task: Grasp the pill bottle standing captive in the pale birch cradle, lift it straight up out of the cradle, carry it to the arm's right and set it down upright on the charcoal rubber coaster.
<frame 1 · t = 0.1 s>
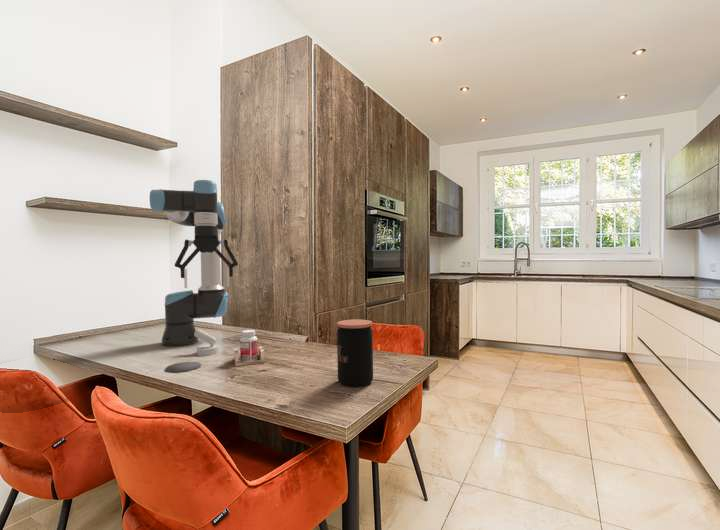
hand: (207, 287, 133), 28 cm above the table, fingers open, 13 cm apart
pill bottle: (249, 361, 141), resting in cradle
wall hook: (206, 353, 154), on the table
coffee jar: (355, 382, 115), on the table
coaster: (183, 367, 133), on the table
cradle: (249, 360, 141), on the table
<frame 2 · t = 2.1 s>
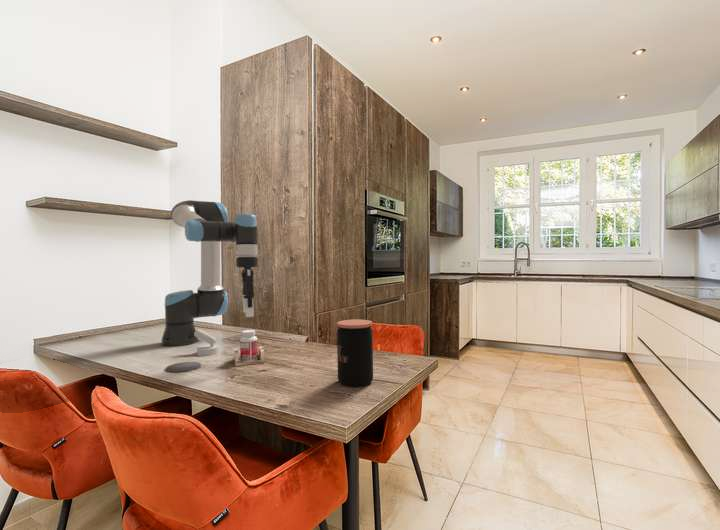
hand: (248, 314, 140), 17 cm above the table, fingers open, 13 cm apart
nothing on the table moved.
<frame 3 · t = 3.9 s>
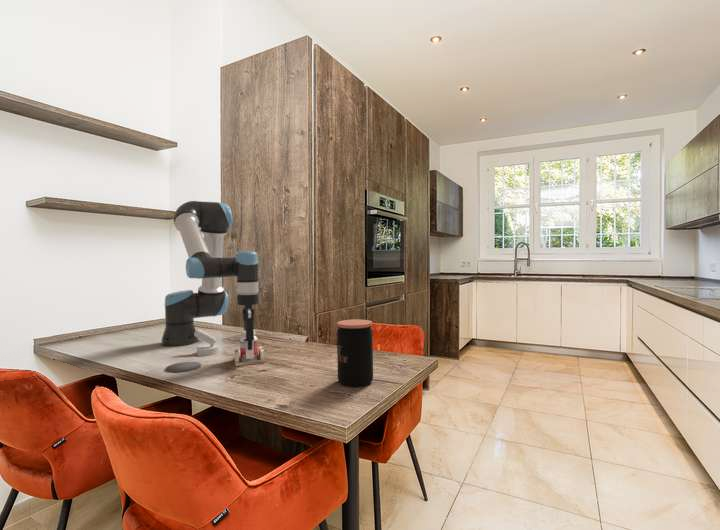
hand: (249, 356, 141), 2 cm above the table, fingers closed on pill bottle, 6 cm apart
pill bottle: (249, 361, 141), resting in cradle, touching gripper
everything else where it was.
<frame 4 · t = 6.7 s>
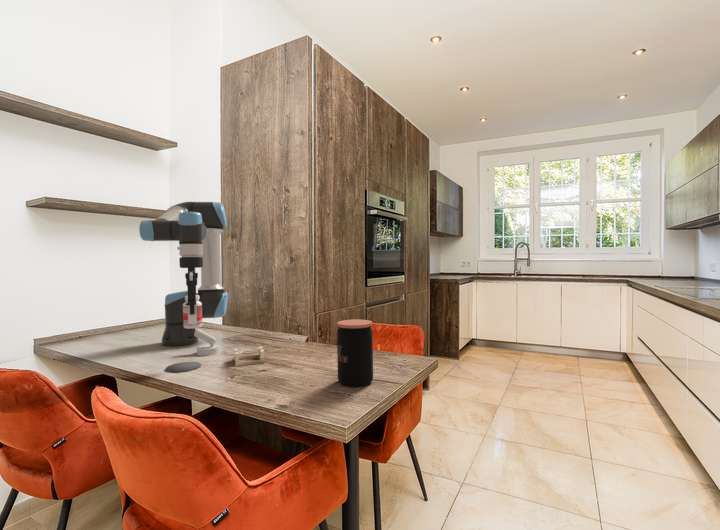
hand: (192, 322, 134), 16 cm above the table, fingers closed on pill bottle, 6 cm apart
pill bottle: (193, 327, 134), point 14 cm above the table, touching gripper
everything else where it was.
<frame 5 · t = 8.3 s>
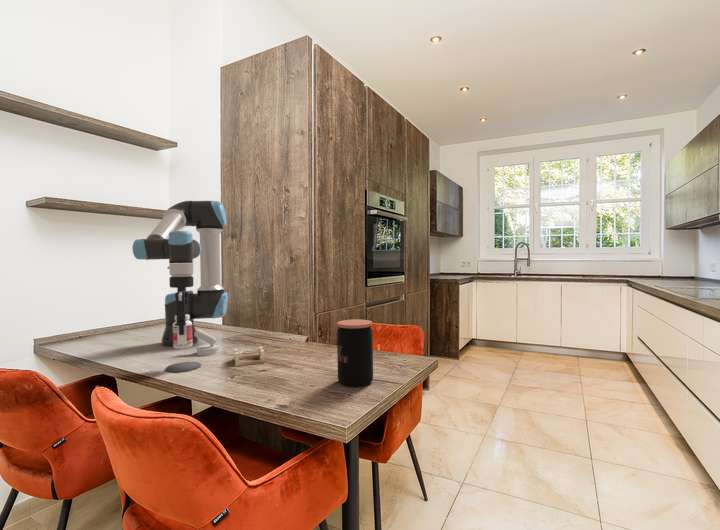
hand: (182, 342, 133), 9 cm above the table, fingers closed on pill bottle, 6 cm apart
pill bottle: (183, 347, 133), point 7 cm above the table, touching gripper
everything else where it was.
when the fingers open (3 cm above the table, at t = 9.6 s): pill bottle drops 1 cm, resting on coaster.
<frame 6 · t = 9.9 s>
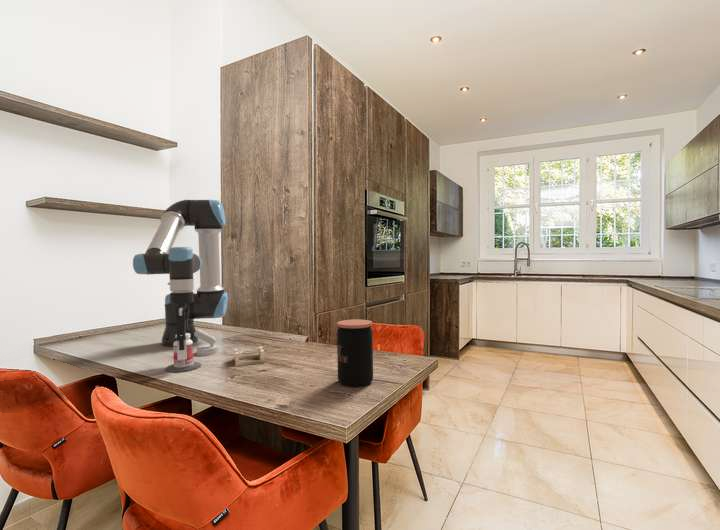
hand: (183, 355, 133), 4 cm above the table, fingers open, 9 cm apart
pill bottle: (183, 366, 133), resting on coaster
everything else where it was.
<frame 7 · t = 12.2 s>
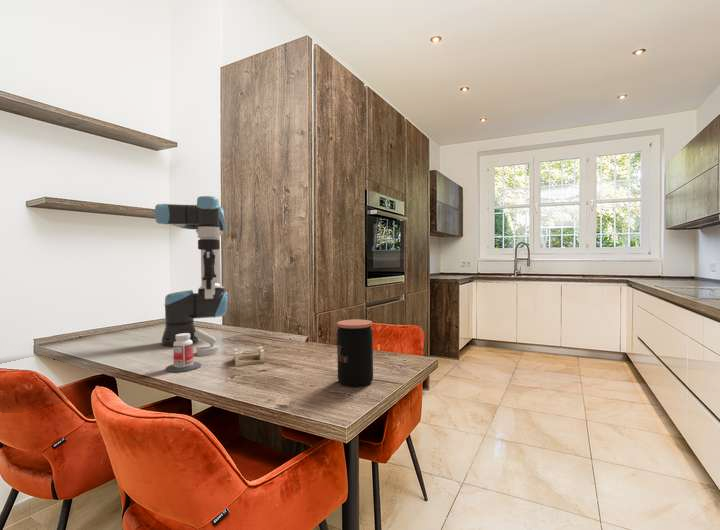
hand: (210, 296, 141), 24 cm above the table, fingers open, 13 cm apart
nothing on the table moved.
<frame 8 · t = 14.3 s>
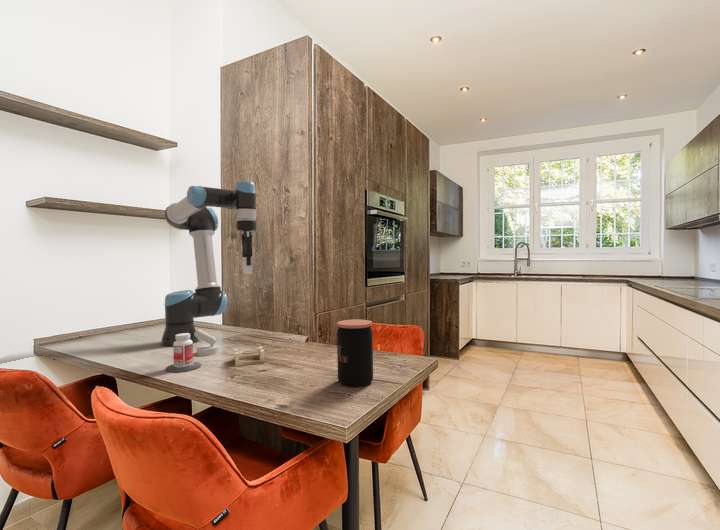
hand: (247, 273, 154), 32 cm above the table, fingers open, 13 cm apart
nothing on the table moved.
at the end: pill bottle 0.1 cm from the coaster (horizontally); pill bottle tilted 0°; the gripper is holding nothing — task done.
